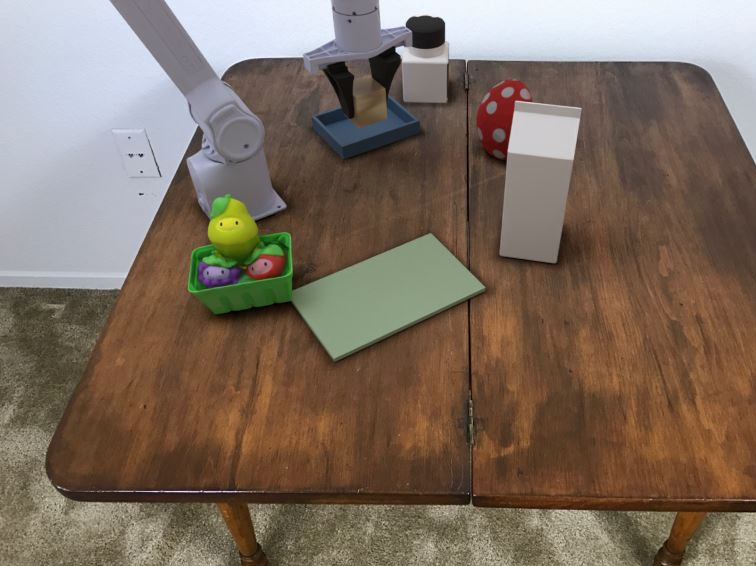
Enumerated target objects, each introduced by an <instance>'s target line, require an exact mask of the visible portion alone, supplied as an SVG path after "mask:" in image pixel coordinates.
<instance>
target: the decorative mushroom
mask: <svg viewBox="0 0 756 566" xmlns="http://www.w3.org/2000/svg"><path fill="white" fill-rule="evenodd" d="M515 101H522V102H531V103H534V101H533V97H532V93H531V91H530V89H529V88H528V87H527V85H526V84H525V83H524V82H523V81H521V80H520V79H514V78H509V79H505V80H502V81H501V82H499V83H497V84H496V85H494V86H492V87H491V88H490V89H489V90H488V91H487V93H485V95H484V96H483V98H482V99H481V101H480V104H479V106H478V109H477V111H476V112H477V113H476V117H475V119H476V122H475V127H476V134H477V137H478V140H479V142H480V144H481V145H482V147H483V148H484V149H485V151H486V152H487V153H488V154H489V155H491V157H493V158H496V159H497V160H500V161H504V160H507V156H508V147H509V140H510V134H511V128H512V121H513V115H514V107H515Z"/></svg>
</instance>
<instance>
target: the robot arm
mask: <svg viewBox="0 0 756 566" xmlns="http://www.w3.org/2000/svg"><path fill="white" fill-rule="evenodd" d="M108 1H109V2H110V3H111V4H112V6H113V7H114V8H115V10H116V11H117V12H118V14H119V15H120V16H121V17H122V19H123V20H124V21H125V22H126V24H127V25H128V26H129V28H130V29H131V30H132V32H133V33H134V34H135V35H136V37H137V38H138V39H139V41H140V42H141V43H142V45H143V46H144V47H145V48H146V49H147V50H148V52H149V54H151V56H152V57H153V58H154V59H155V61H156V62H157V63H158V65H159V66H160V67H161V69H162V70H163V71H164V73H165V74H166V75H167V76H168V78H169V79H170V80H171V81H172V83H173V84H174V86H175V87H176V88H177V89H178V90H179V92H180V93H181V94H182V96H183V97H184V99H185V100H186V103H187V109H188V114H189V116H190V117H191V119H192V120H193V122H194V123H195V124H196V125H198V126H199V128H200V129H201V131H202V132H203V134H202V140H201V149H200V150H199V151H197V152H196V153H195V154H193V155H191V156H189V157H187V158H186V165H187V170H188V172H189V174H190V178H191V181H192V184H193V187H194V190H195V193H196V197H197V199H198V200H197V202H198V204H199V206H200V207H201V210H202V211H203V212H204V213H205V215H206V216H207V217H208V219H209V221H211V217H210V214H211V212H212V203H213V201H214V200H215V199H216V198H219V197H223V198H225V195H231V196H232V198H233V199H236V200H238V201H240V202H242V203H244V205H245V206H246V208H247V211H248V213H249V215H250V216H251V217H252V218H253V220H254V221H255V222H256V221H258V220H261V219H263V218H266V217H269V216H271V215H274V214H275V213H277V212H280V211H283V210H285V209H287V207H288V206H287V204H286V202H285V201H284V200H283V199H282V198H281V196H280V195H279V194H278V193H277V192H276V190H275V189H274V188H273V184H272V181H271V176H270V171H269V166H268V163H267V162H268V161H267V159H266V153H265V149H264V143H265V139H266V130H265V127H264V124H263V122H262V120H261V119H260V118H259V117H258V116H257V115H256V114H254V112H252V111H251V110H250V109H249V107H248V106H247V105H246V104H245V102H244V101H243V100H242V99H241V98H240V96H239V94H238V92H236V90H235V89H234V88H233V86H232V85H230V84H229V83H228V82H226V81H223V80H222V79H221V78H220V76H218V74H217V73H216V71H215V70H214V68H213V67H212V66H211V64H210V63H209V61H208V60H207V59H206V57H205V55H204V54H203V53H202V51H201V49H199V47H198V46H197V44H196V43H195V42H194V40H193V39H192V37H191V36H190V34H189V33H188V32H187V30H186V29H185V27H184V25H183V24H182V23H181V22H180V19H178V17H177V16H176V14H175V13H174V12H173V10H172V9H171V7H170V6H169V5H168V3H167V2H166V0H108ZM330 4H331V13H332V22H333V31H334V39H332V40H330V41H328V42H327V43H325V44H322V45H321V46H319V47H317V48H315V49H312V50H310V51H308V52H305V53H302V57H303V65H304V69H305V70H306V71H307V72H308V73H309V74H310V75H311V76H315V75H318V74H319V73H320V71H322V72H323V73H324V75H325V76H326V78H327V80H328V81H329V84H330V85H331V86H332V88H333V91H334V93H335V94H336V98H337V99H338V102H339V105H340V107H341V108H342V111H343V113H344V114H345V115H346V116H347V117H348V118H349V119H351V118H354V102H353V82H354V79H355V77H356V76H355V75H354V74H353V73H352V72H351V71H350V70H349V66H348V65H346V63H349V62H352V61H361V60H368V63H369V68H370V74H371V77H372V78H373V79H374V80H376V81H377V82H378V83H379V84H380V85H382V86H383V87H384V88H385V90H386V105H387V100H388V95H390V90H391V86H392V83H393V80H394V78H395V75H396V73H397V71H398V69H399V68H400V66H401V65H402V56H401V55H400V54H399V53H398V52H397V51H396V50H397V48H400V47H403V48H404V47H410V46H412V31H411V30H409V29H408V28H406V25H402V26H396V27H389V28H382V27H381V25H382V24H381V12H380V11H381V9H380V0H330Z"/></svg>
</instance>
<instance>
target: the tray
mask: <svg viewBox="0 0 756 566" xmlns="http://www.w3.org/2000/svg"><path fill="white" fill-rule="evenodd" d="M386 106H387V119H385V120H382V121H379V122H376V123H373V124H370V125H368V126H365V127H362V128H358V127H357V126H356V125H355V124H354V123H353V122H352V121H351V120H350V119H348V118H347V117H346V116H345V115H344V114H343V111H342V108H341V106H337V107H335V108H332V109H328V110H326V111H323V112H319V113H316V114H313V115H311V116H310V117H311V125H312V129H313V130H314V131H315V132H316V133H317V134H318V135H319V136H320V137H321V138H322V139H323V140H324V141H325V142H326V143H327V144H328V145H329V146H330V147H331V148H332V149H333V151H335V152H336V153H337V154H338V155H339V157H340V158H341V159H342V160H347V159H349V158H352V157H354V156H357V155H360V154H363V153H366V152H369V151H372V150H375V149H378V148H381V147H383V146H386V145H390V144H392V143H395V142H399V141H400V140H403V139H406V138H409V137H412V136H415V135H418V134H420V133H421V123H420V119H418V118H417V117H416V116H415V115H414V114H413V113H411V111H409V110H408V109H407V108H406V107H404V106H403V105H402V104H401V103H400V102H398V101H397V100H396V99H395V98H394V97H392V96H391V95H390V94H389V95H388V100H387V105H386Z"/></svg>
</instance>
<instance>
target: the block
mask: <svg viewBox="0 0 756 566" xmlns="http://www.w3.org/2000/svg"><path fill="white" fill-rule="evenodd" d="M353 102H354V118H351V119H350V120H351V121H352V122H353V123H354V124H355V125H356V126H357V127H358V128H362V127H365V126H368V125H370V124H373V123H376V122H379V121H382V120H385V119H387V106H386V90H385V88H384V87H383V86H382V85H380V84H379V83H378V82H377V81H376V80H374V79H373V78H372V75H370V74H368V75H364V76H361V77H357V78H354V82H353ZM343 114H344V113H343ZM344 115H345V114H344ZM345 116H346V115H345ZM346 117H347V116H346ZM347 118H348V117H347ZM348 119H349V118H348Z"/></svg>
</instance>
